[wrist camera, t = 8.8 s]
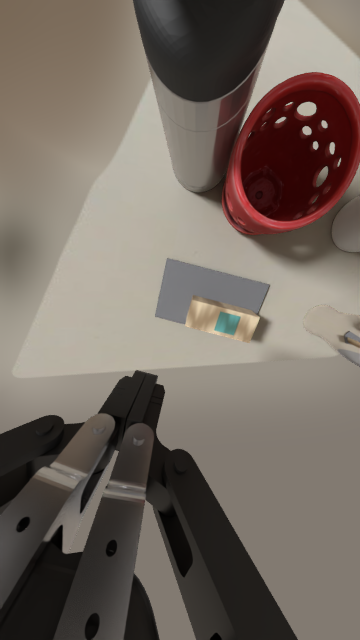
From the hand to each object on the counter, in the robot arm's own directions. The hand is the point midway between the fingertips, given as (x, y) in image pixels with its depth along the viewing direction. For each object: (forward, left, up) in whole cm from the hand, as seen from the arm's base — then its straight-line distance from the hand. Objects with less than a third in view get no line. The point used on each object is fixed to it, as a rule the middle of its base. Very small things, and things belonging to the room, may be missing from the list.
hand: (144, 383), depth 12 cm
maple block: (0, +2, -22) cm, 22 cm away
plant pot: (-20, +9, -26) cm, 34 cm away
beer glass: (-4, +28, -26) cm, 38 cm away
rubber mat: (-2, +6, -25) cm, 26 cm away
